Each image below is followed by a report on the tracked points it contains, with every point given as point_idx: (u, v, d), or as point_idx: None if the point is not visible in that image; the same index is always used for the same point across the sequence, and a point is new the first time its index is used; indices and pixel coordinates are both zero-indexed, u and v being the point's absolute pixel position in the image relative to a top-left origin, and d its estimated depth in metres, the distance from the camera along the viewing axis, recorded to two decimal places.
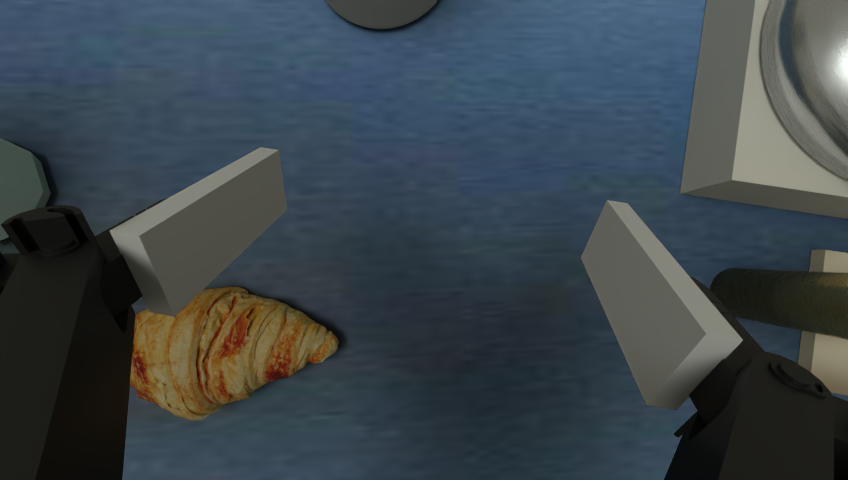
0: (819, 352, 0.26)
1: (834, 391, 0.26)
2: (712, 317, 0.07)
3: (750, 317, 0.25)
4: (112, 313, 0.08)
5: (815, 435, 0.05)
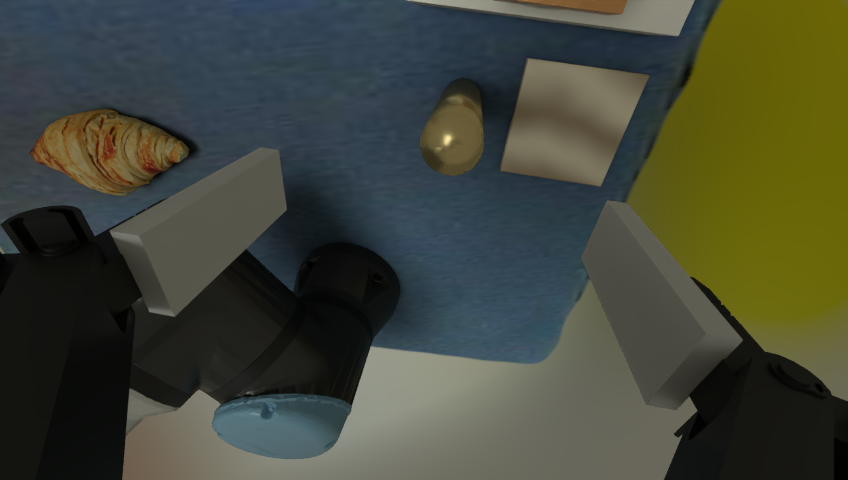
0: (510, 145, 0.35)
1: (517, 172, 0.36)
2: (712, 317, 0.07)
3: None
4: (112, 313, 0.08)
5: (815, 435, 0.05)
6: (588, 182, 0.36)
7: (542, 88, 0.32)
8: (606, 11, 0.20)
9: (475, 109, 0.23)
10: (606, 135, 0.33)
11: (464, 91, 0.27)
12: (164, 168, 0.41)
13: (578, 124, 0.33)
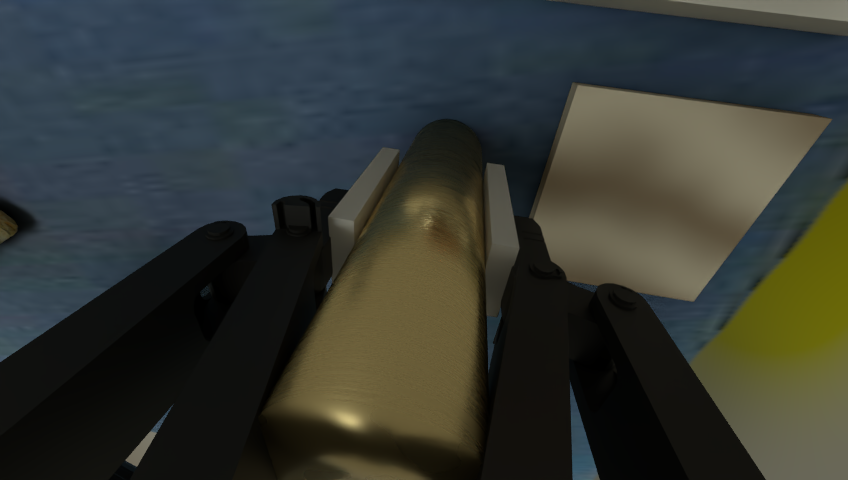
0: None
1: None
2: (507, 235, 0.10)
3: None
4: (314, 292, 0.10)
5: (557, 307, 0.07)
6: (672, 295, 0.20)
7: (602, 141, 0.16)
8: None
9: (463, 272, 0.07)
10: (718, 224, 0.18)
11: (441, 176, 0.11)
12: None
13: (666, 204, 0.17)
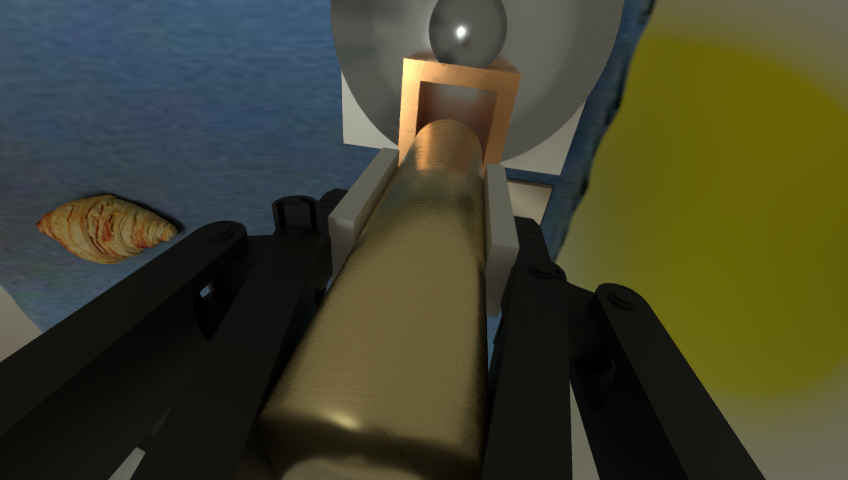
0: None
1: None
2: (507, 235, 0.10)
3: None
4: (314, 292, 0.10)
5: (557, 307, 0.07)
6: None
7: None
8: None
9: (463, 273, 0.07)
10: None
11: (441, 176, 0.11)
12: (155, 245, 0.47)
13: None
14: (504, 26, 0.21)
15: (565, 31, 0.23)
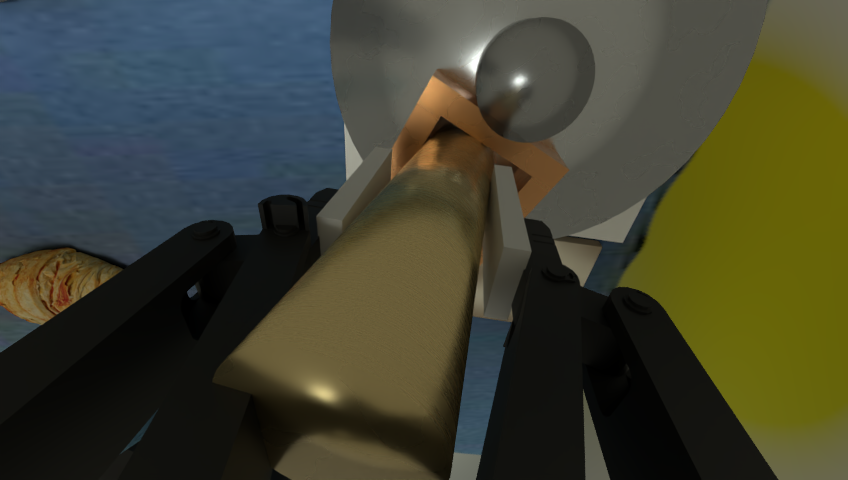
0: None
1: (478, 316, 0.36)
2: (518, 238, 0.09)
3: None
4: None
5: (570, 311, 0.07)
6: None
7: None
8: None
9: (456, 260, 0.07)
10: None
11: (449, 171, 0.11)
12: None
13: None
14: (581, 105, 0.15)
15: (631, 138, 0.18)
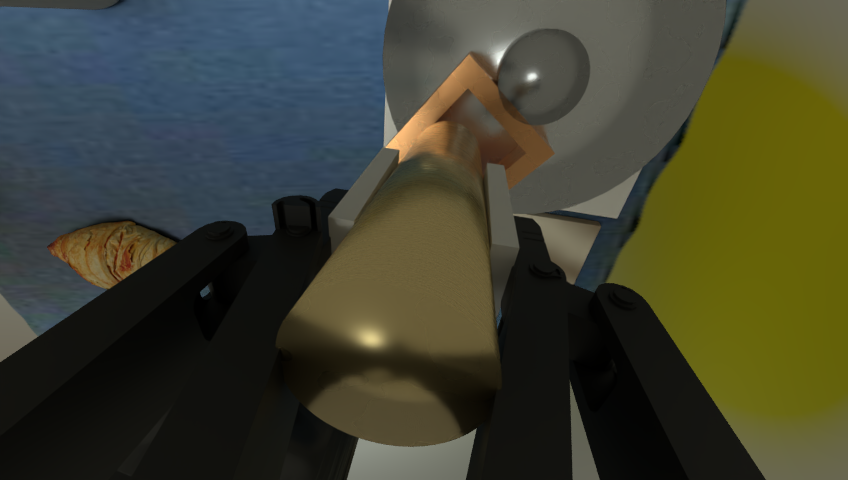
0: None
1: None
2: (507, 235, 0.10)
3: None
4: None
5: (557, 307, 0.07)
6: None
7: None
8: None
9: (479, 232, 0.08)
10: (566, 267, 0.37)
11: (455, 159, 0.12)
12: None
13: None
14: (573, 103, 0.19)
15: (604, 141, 0.23)
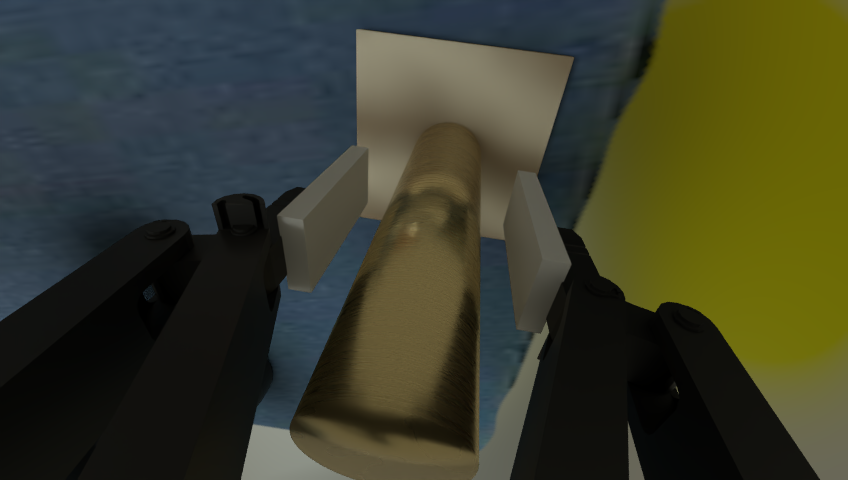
0: None
1: None
2: (555, 249, 0.09)
3: None
4: (266, 291, 0.09)
5: (614, 328, 0.07)
6: (496, 235, 0.22)
7: (392, 83, 0.18)
8: None
9: (468, 297, 0.09)
10: (513, 163, 0.19)
11: (451, 194, 0.12)
12: None
13: None
14: None
15: None
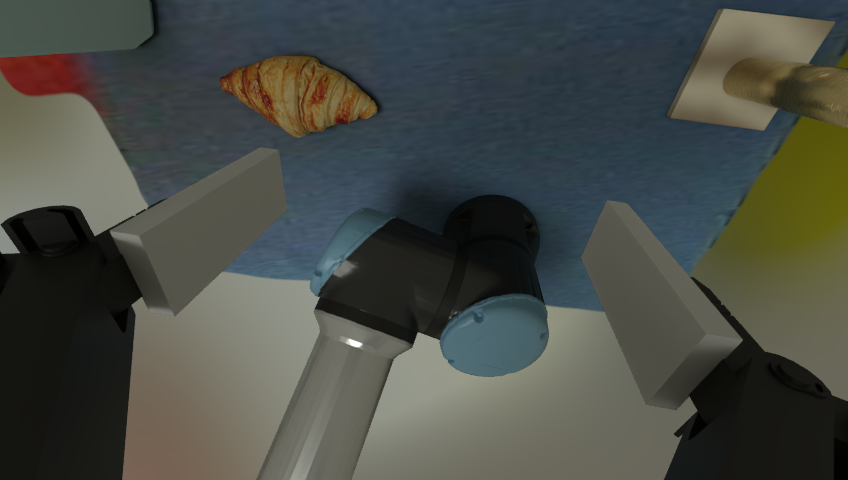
0: (686, 92, 0.39)
1: (686, 118, 0.40)
2: (712, 317, 0.07)
3: (739, 94, 0.36)
4: (112, 313, 0.08)
5: (814, 435, 0.05)
6: (752, 127, 0.40)
7: (730, 36, 0.36)
8: None
9: None
10: None
11: None
12: (350, 121, 0.45)
13: None
14: None
15: None
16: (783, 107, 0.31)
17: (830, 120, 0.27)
